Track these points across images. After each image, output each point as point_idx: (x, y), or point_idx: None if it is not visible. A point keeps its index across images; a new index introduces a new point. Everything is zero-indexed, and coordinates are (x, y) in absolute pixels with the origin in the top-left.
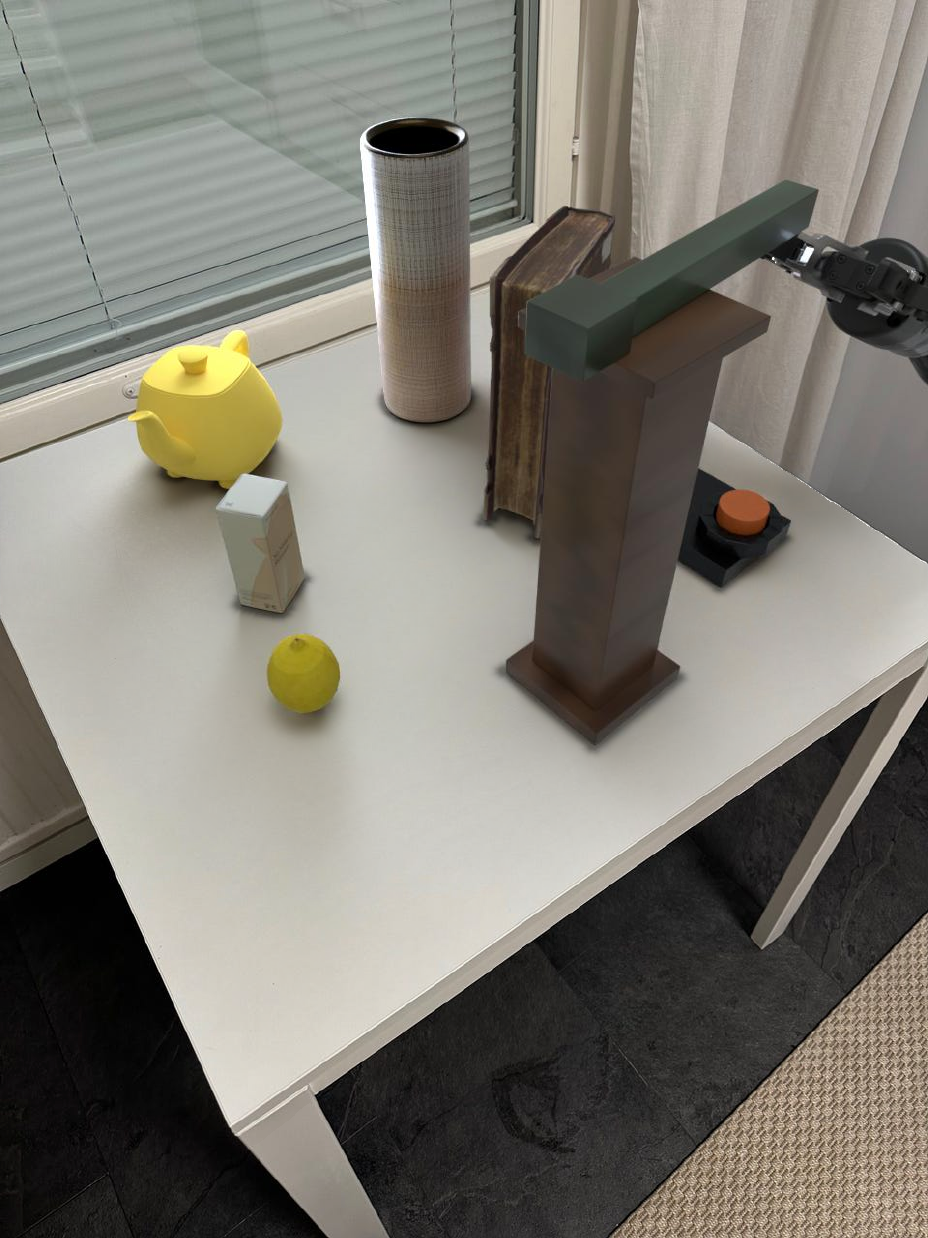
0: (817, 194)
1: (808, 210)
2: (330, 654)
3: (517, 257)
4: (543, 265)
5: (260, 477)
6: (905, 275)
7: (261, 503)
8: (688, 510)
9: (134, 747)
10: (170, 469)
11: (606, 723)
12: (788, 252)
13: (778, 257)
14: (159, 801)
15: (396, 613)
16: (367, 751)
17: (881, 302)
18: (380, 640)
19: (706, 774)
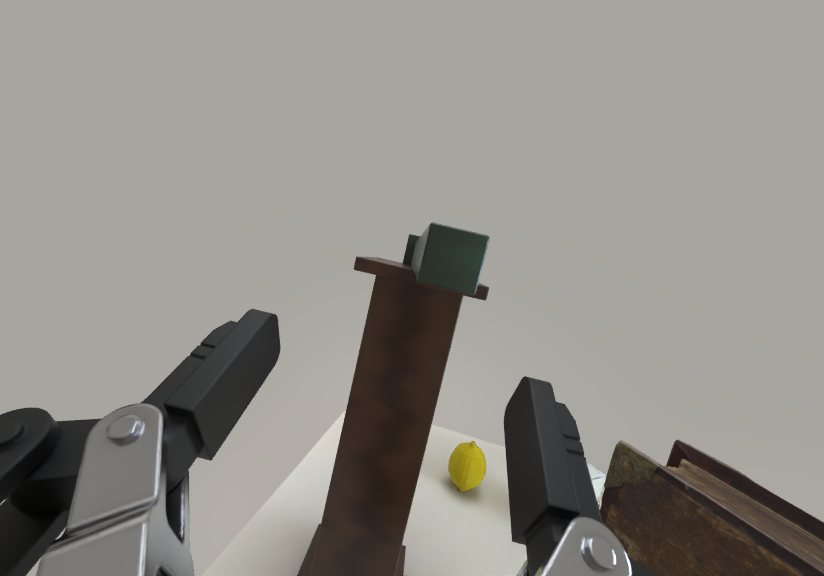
0: (428, 230)
1: (423, 249)
2: (463, 460)
3: (765, 497)
4: (752, 514)
5: (596, 475)
6: (201, 343)
7: None
8: (342, 429)
9: (484, 451)
10: None
11: (316, 533)
12: (522, 524)
13: (509, 486)
14: (455, 441)
15: (497, 563)
16: (418, 481)
17: (188, 523)
18: (480, 538)
19: (231, 552)
